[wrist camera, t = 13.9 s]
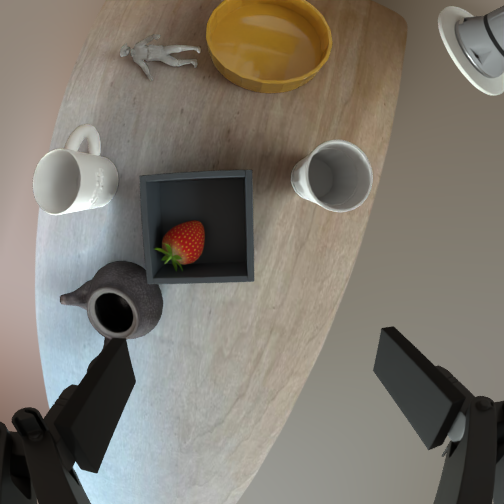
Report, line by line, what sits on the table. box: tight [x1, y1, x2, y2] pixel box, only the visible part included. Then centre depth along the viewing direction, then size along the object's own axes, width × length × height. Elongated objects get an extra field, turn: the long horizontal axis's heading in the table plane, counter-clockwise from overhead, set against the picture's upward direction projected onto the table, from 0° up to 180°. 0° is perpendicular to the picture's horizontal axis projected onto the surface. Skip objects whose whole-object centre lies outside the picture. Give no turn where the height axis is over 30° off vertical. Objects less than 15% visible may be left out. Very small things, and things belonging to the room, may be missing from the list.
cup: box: [291, 140, 373, 212], centre depth 36 cm, size 8×8×12 cm
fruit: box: [154, 220, 205, 272], centre depth 38 cm, size 5×5×8 cm
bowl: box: [206, 0, 332, 93], centre depth 34 cm, size 18×18×4 cm
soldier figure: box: [120, 34, 201, 81], centre depth 34 cm, size 8×5×12 cm
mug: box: [33, 124, 119, 215], centre depth 33 cm, size 8×12×12 cm
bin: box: [140, 170, 254, 284], centre depth 38 cm, size 14×14×8 cm
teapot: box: [60, 261, 163, 372], centre depth 39 cm, size 19×15×10 cm
